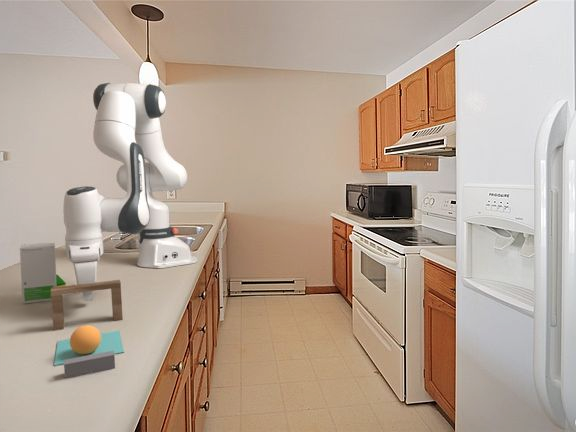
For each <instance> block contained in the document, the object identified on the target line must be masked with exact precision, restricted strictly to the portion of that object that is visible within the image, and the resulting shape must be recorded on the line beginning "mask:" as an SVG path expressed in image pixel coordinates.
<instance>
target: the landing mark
mask: <svg viewBox="0 0 576 432" xmlns="http://www.w3.org/2000/svg"><path fill="white" fill-rule="evenodd" d="M100 334H101V342H100V345H99V346H98V348H97V349H96V350H95V351H93V352H92V353H89V354H85V355H82V354H78V353H76V352H74V351H73V350H72V348H71V346H70V338H67V339H63V340H58V341H57V342H56V343H57V344H56V350H55V356H54V363H53V366H54V367H58V366H64V360H66V359H71V358H77V357H82V356H87V355H93V354H98V353H103V352H109V351H114V356H115V355H119V354H124V353H125V349H124V346H123V342H122V340H123V339H122V336H121V333H120V330H115V331H108V332H104V333H100Z"/></svg>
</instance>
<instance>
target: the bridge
mask: <svg viewBox="0 0 576 432" xmlns="http://www.w3.org/2000/svg"><path fill="white" fill-rule="evenodd" d="M121 283H122V282H121V280H120V279H115V280H113V279H112V280H104V281H96V282H95V283H86V284H78V285H77V284H71V285H69V284H68V285H66V286H61V287H52V288H51V300H50V301H51V303H50V304H51V313H52V314H51V315H52V327H53V329H52V330H53V331H59V330H64V328H65V318H64V317H65V316H64V303H63V302H64V301H63V295H64V296H65V295H70V294H72V295H73V294H79V293H84V292H88V291H92V292H94V291H105V290H111V291H110V292H111V307H112V308H111V309H112V319H113V320H112V321H113V322H115V321H116V322H117V321H123V318H124V317H123V303H122V300H123V299H122V286H121V285H122V284H121Z"/></svg>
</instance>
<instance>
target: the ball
mask: <svg viewBox="0 0 576 432" xmlns="http://www.w3.org/2000/svg"><path fill="white" fill-rule="evenodd" d="M101 334H102V333H101V332H100V330H99V329H98V328H97V327H95V326H93V325H89V324H87V325H82V326H79V327H78V328H76V329H75V330H74V331H73V332H72V333H71V335H70V337H69V339H70V346H71V348H72V350H73V351H74V352H76V353H78V354H82V355H85V354H89V353H92V352H93V351H95V350H96V349H97V348H98V346H99V345H100V342H101Z"/></svg>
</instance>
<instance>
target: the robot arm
mask: <svg viewBox="0 0 576 432" xmlns="http://www.w3.org/2000/svg"><path fill="white" fill-rule="evenodd" d="M92 95H93V96H92V101H93V105H94V108H95V110H96V115H95V119H94V125H93V134H92V135H93V137H92V138H93V139H92V140H93V142H94V145H95V146H96V148H97V149H98V151H100V152H101V153H102V154H103V155H106V156H107V157H109V158H111V159H114V160H116V161H118V162H121V163H122V164H121V165H120V166H119V167H118V169H117V172H116V175H115V176H116V182H117V185H118V187H120V188H121V189H122V190H123V191H125V192H126V196H125V197H106V196H104V195H102V194H100V193H99V192H98V189H97V187H94V186H87V185H85V186H77V187H72V188H70V189H68V190H67V191H66V192H65V194H64V197H63V210H62V211H63V224H64V225H65V231H66V232H65V238H64V243H65V254H66V258H68V259H69V260H70V262H71V264H73V269H74V273H75V279H76V285H78V284H86V283H95V282H97V273H98V272H97V271H98V262H99V261H100V258H101V256H102V255H103V254H104V237H103V232H105V233H106V232H107V233H122V234H123V233H124V234H132V235H137V234H138V243H139V249H138V258H137V261H136V266H137V267H141V268H153V269H164V268H171V267H177V266H184V265H185V266H186V265H191V264H196V263H197V262H198V259H197V257H196V256H194V255H192V252H191V249H190V246H189V245H188V244H187V243H186V242H184V240H182V239H180V238H178V237H177V236H176V235H177V234H179V230H178V229H177V228H175V227H172V226H171V224H170V209H169V207H168V205H167V204H166V203H164V202H163V201H161V200H158V199H157V198H155V197H154V195H153V192H173V191H177V190H179V191H180V190H182V189H183V188H185V186H186V184H187V181H188V172H187V170H186V168H185V166H184V165H183V164H181V163H179V162H178V161H177V160H176V159H174V158H173V157H172V156H171V155H170V153H169V151H167V149H166V147H165V143H164V140H163V139H164V138H163V133H162V127H161V119H160V117H162V116H163V115H164V114H165V111H166V107H167V100H166V95H165V92H164V91H163V89H162V88H161V87H160V86H158V85H155V84H144V83H137V82H118V83H110V82H106V83H101V84H99V85H97V86H96V87H95V89H94V90H93V94H92ZM145 160H146V161H147V162H145ZM92 292H93V291H88V292H83V298H84V299H83V300H84V302H91V301H93V294H92Z"/></svg>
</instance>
